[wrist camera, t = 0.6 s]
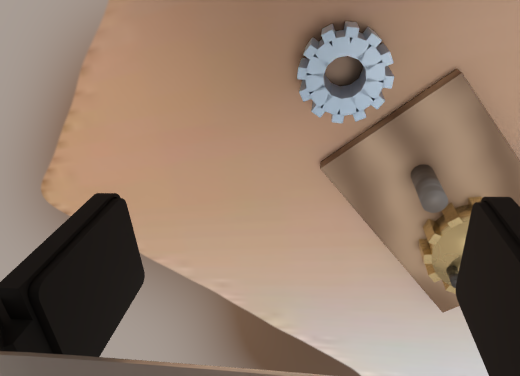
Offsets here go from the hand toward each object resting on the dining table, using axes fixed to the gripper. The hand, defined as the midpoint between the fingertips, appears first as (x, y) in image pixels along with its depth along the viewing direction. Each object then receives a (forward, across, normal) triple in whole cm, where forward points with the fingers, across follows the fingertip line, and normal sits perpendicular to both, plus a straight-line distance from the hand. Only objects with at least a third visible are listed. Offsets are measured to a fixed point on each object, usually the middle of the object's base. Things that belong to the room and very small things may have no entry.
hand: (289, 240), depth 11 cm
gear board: (+26, -13, +14) cm, 33 cm away
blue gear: (+26, -3, 0) cm, 27 cm away
